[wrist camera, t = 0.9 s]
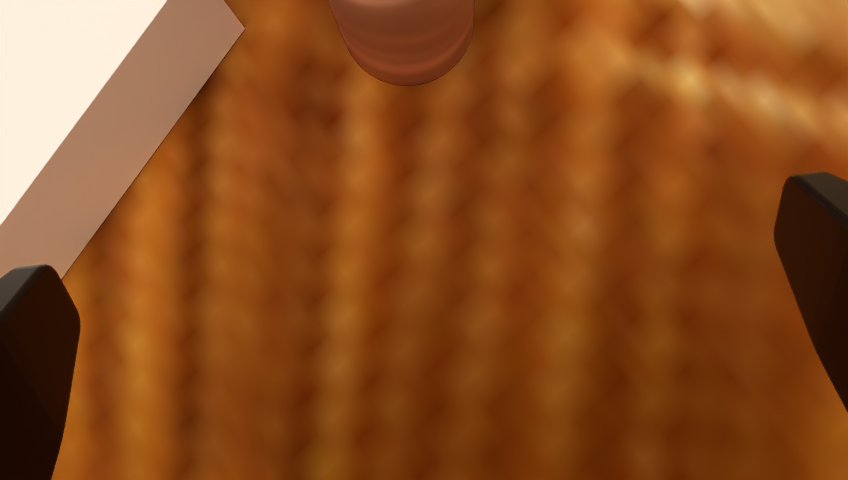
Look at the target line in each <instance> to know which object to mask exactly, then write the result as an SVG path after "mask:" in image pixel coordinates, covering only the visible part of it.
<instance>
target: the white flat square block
mask: <svg viewBox="0 0 848 480" xmlns="http://www.w3.org/2000/svg"><path fill="white" fill-rule="evenodd" d="M244 29H245V28H244V27H243V25H242V24H241V23H240V21H239V20H238V19H237V17H236V16H235V15H234V13H233V12H232V11H231V9H230V8H229V7H228V5H227V4H226V3H225V1H224V0H0V278H1V277H2V276H4V275H5V274H6V273H8V272H9V271H10V270H12V269H14V268H16V267H21V266H29V265H37V264H47V265H50V266H52V267H53V268H54V269H55V270H56V272H57V273H58V275H59V277H60V278H61V279H62V278H63V276H64V275H65V273H66V272H67V271H68V269H69V268H70V267H71V265H72V264H73V263H74V261H75V260H76V258H77V257H78V256H79V254H80V253H81V252H82V250H83V249H84V248H85V246H86V245H87V243H88V242H89V241H90V239H91V238H92V237H93V235H94V234H95V233H96V231H97V230H98V228H99V227H100V226H101V224H102V223H103V222H104V220H105V219H106V218H107V216H108V215H109V213H110V212H111V211H112V209H113V208H114V207H115V205H116V204H117V203H118V201H119V200H120V198H121V197H122V196H123V194H124V193H125V192H126V190H127V189H128V188H129V186H130V185H131V183H132V182H133V181H134V179H135V178H136V177H137V175H138V174H139V173H140V171H141V170H142V168H143V167H144V166H145V164H146V163H147V162H148V160H149V159H150V158H151V156H152V155H153V153H154V152H155V151H156V149H157V148H158V147H159V145H160V144H161V143H162V141H163V140H164V138H165V137H166V136H167V134H168V133H169V132H170V130H171V129H172V128H173V126H174V125H175V123H176V122H177V121H178V119H179V118H180V117H181V115H182V114H183V113H184V111H185V110H186V108H187V107H188V106H189V104H190V103H191V102H192V100H193V99H194V98H195V96H196V95H197V93H198V92H199V91H200V89H201V88H202V87H203V85H204V84H205V83H206V81H207V80H208V78H209V77H210V76H211V74H212V73H213V72H214V70H215V69H216V67H217V66H218V65H219V63H220V62H221V61H222V59H223V58H224V57H225V55H226V54H227V52H228V51H229V50H230V48H231V47H232V46H233V44H234V43H235V42H236V40H237V39H238V37H239V36H240V35H241V33H242V32H243V31H244Z"/></svg>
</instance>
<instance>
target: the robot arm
mask: <svg viewBox="0 0 848 480" xmlns="http://www.w3.org/2000/svg"><path fill="white" fill-rule="evenodd" d="M774 242H775V246H776V249H777V252H778V255H779V257H780V260H781V263H782V265H783V268H784V271H785V273H786V276H787V278H788V281H789V284H790V286H791V289H792V292H793V294H794V297H795V299H796V302H797V305H798V307H799V310H800V312H801V315H802V318H803V320H804V323H805V326H806V328H807V331H808V333H809V336H810V338H811V341H812V343H813V345H814V348H815V350H816V352H817V354H818V356H819V358H820V360H821V362H822V364H823V366H824V368H825V370H826V372H827V374H828V376H829V378H830V380H831V382H832V383H833V385H834V387H835V389H836V391H837V393H838V395H839V397H840V399H841V400H842V402H843V404H844V406H845V408H846V410H847V412H848V181H846V180H844V179H842V178H839V177H837V176H835V175H833V174H830V173H828V172H825V171H817V172H808V173H800V174H793V175H791V176H790V177H789V178H787V180H786V181H785V184H784V186H783V190H782V195H781V200H780V204H779V209H778V213H777V218H776V222H775V227H774ZM79 335H80V317H79V313H78V311H77V308H76V307H75V305H74V303H73V301H72V299H71V297H70V295H69V293H68V292H67V290H66V288H65V286H64V284H63V282H62V280H61V278H60V277H59V275H58V273H57V272H56V270H55V269H54V268H53V267H52V266H50V265H47V264H37V265H29V266H21V267H16V268H14V269H12V270H10V271H9V272H8V273H6V274H5V275H4V276H2V277H1V278H0V480H51V478H52V475H53V471H54V468H55V464H56V461H57V457H58V453H59V450H60V446H61V442H62V438H63V433H64V428H65V423H66V417H67V411H68V405H69V398H70V392H71V386H72V380H73V373H74V367H75V361H76V354H77V348H78V342H79Z"/></svg>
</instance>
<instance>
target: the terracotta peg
mask: <svg viewBox="0 0 848 480" xmlns="http://www.w3.org/2000/svg"><path fill="white" fill-rule="evenodd" d="M328 2H329V5H330V7H331V9H332V12H333V14H334V17H335V19H336V21H337V24H338V26H339V29H340V31H341V33H342V36H343V38H344V40H345V43H346V45H347V48H348V50H349V52H350V53H351V55H352V57H353V58H354V60H355V61H356V62H357V64H358V65H359V66H360V67H361V68H362V69H363V70H365V71H366V72H367V73H369V74H370V75H372V76H373V77H375V78H377V79H379V80H381V81H384V82H387V83H390V84H395V85H406V86H411V85H419V84H423V83H427V82H430V81H432V80H435V79H437V78H439V77H441V76H442V75H444V74H445V73H447V72H448V71H449V70H451V69H452V68H453V67H454V66H455V65H456V64H457V63H458V61H459V60H460V59H461V58H462V56H463V55H464V53H465V51H466V50H467V47H468V45H469V43H470V40H471V36H472V32H473V24H474V4H475V0H328Z"/></svg>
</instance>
